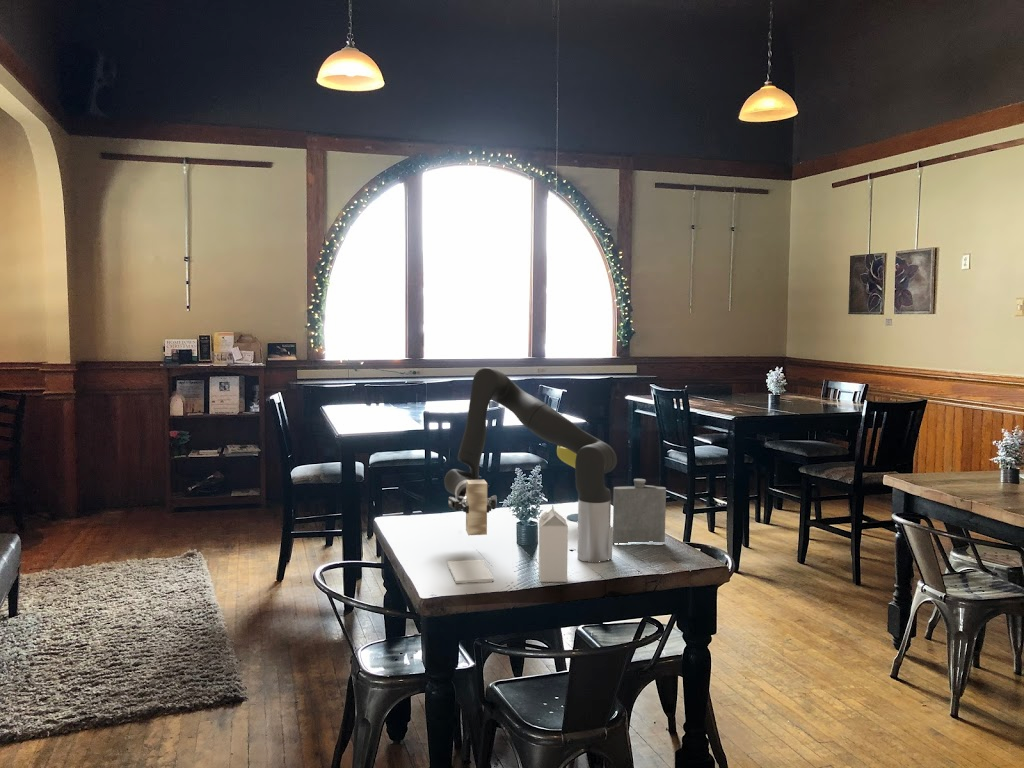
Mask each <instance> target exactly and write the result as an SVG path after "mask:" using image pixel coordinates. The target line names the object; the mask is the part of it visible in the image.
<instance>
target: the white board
mask: <svg viewBox="0 0 1024 768" xmlns="http://www.w3.org/2000/svg"><path fill="white" fill-rule="evenodd" d="M447 564H448V565H447V567H448V566H449V567H448V568H449V569H448V570H449V571H450V574H451V573H452V574H451V576H452V575H453V576H452V579H453V580H455V581H454V583H455V582H456V583H462V584H468V583H467V582H478V583H490V582H491V583H492V581H495V580H494V577H493V575H492V573H491V572H490V570H489V568H488V566H487V564H486V563H485V561H484V559H469V560H451V561H450V560H449V561H447ZM456 583H455V584H456Z"/></svg>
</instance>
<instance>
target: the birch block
mask: <svg viewBox="0 0 1024 768" xmlns="http://www.w3.org/2000/svg"><path fill="white" fill-rule="evenodd" d="M487 498H488V482H487V481H486V480H485V479H479V480H466V502H467V504H468V505H469V513H465V531H466V533H467V535H468V536H483V535H488V529H487V528H488V513H487Z"/></svg>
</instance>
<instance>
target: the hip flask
mask: <svg viewBox="0 0 1024 768" xmlns="http://www.w3.org/2000/svg"><path fill="white" fill-rule="evenodd" d="M646 482H647V480H646V479H644V478H634V479H633V483H634V485H632V486H631V485H630V486H614V487H613V509H612V510H613V512H612V513H613V515H612V516H613V517H612V528H613V532H612V544H613V543H618V544H619V543H628V542H649V541H653V542H666V506H667V504H666V501H667V487H665V486H656V485H646V484H645V483H646Z"/></svg>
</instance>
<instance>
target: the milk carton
mask: <svg viewBox="0 0 1024 768" xmlns="http://www.w3.org/2000/svg"><path fill="white" fill-rule="evenodd" d="M551 505H552V504H551ZM568 532H569V527H568V523H567V521H566V519H565V518H564V517H563V516H562V515H560V514H559V513H558V512H557V511H556V510H555V508H554V505H552V506H551V509H550V510H549V511H548V512H547V511H545V512H544V513H542V514H541V516H540V519H539V520H538V577H539V582H540V583H552V582H553V583H560V582H561V583H564V582H565V583H566V582H568V550H569V549H568V548H569V547H568V545H569V544H568V542H569V540H568V539H569V533H568Z"/></svg>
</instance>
